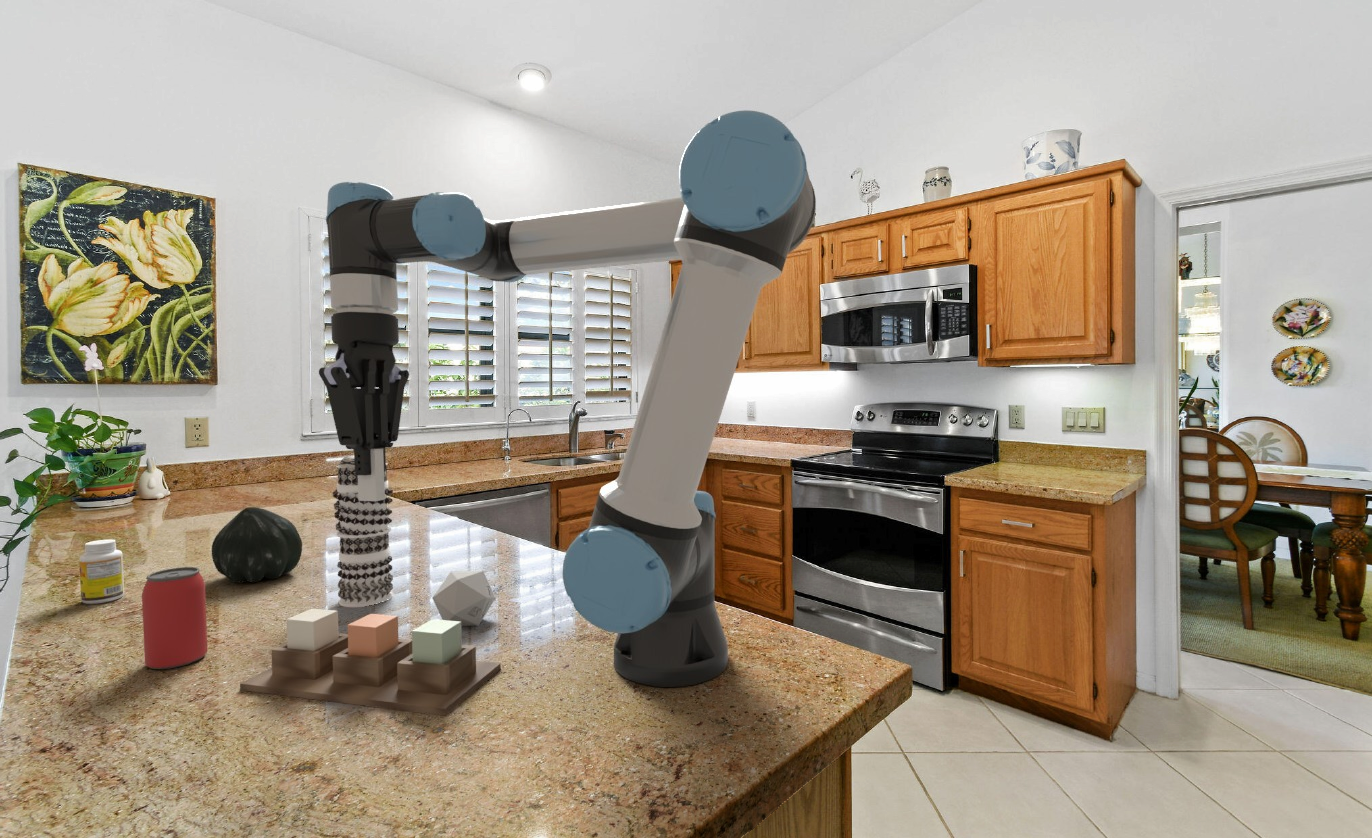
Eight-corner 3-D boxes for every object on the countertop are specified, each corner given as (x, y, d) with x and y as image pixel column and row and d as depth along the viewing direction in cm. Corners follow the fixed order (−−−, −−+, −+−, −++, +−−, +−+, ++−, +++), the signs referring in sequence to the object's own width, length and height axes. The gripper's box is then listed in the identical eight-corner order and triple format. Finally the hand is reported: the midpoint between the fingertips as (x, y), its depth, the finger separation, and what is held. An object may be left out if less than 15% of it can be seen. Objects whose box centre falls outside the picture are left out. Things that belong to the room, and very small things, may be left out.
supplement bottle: (90, 597, 111) (87, 539, 111) (130, 593, 114) (127, 536, 113) (74, 607, 106) (71, 547, 106) (116, 602, 109) (113, 543, 108)
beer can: (138, 675, 80) (134, 582, 80) (153, 656, 86) (149, 569, 86) (202, 664, 83) (198, 575, 83) (212, 647, 89) (209, 563, 89)
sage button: (461, 653, 78) (461, 621, 78) (442, 666, 74) (441, 633, 74) (433, 650, 79) (432, 619, 79) (412, 663, 75) (411, 630, 75)
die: (459, 641, 93) (498, 583, 95) (412, 610, 94) (452, 553, 96) (476, 640, 100) (511, 587, 103) (433, 611, 102) (469, 559, 104)
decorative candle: (366, 610, 104) (361, 459, 103) (323, 605, 107) (318, 457, 106) (407, 593, 112) (403, 454, 111) (366, 588, 115) (362, 452, 114)
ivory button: (338, 640, 82) (337, 610, 82) (314, 653, 79) (313, 621, 78) (313, 638, 83) (312, 608, 83) (287, 650, 79) (286, 619, 79)
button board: (500, 669, 82) (500, 638, 82) (445, 715, 70) (444, 680, 70) (318, 650, 88) (317, 621, 88) (240, 689, 76) (238, 657, 76)
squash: (296, 534, 135) (241, 489, 126) (330, 547, 127) (273, 499, 118) (240, 590, 127) (177, 546, 119) (272, 608, 119) (207, 561, 110)
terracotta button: (398, 646, 80) (397, 615, 80) (376, 659, 77) (375, 627, 76) (371, 644, 81) (370, 613, 81) (348, 656, 77) (347, 624, 77)
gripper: (377, 320, 86) (383, 491, 87) (296, 308, 74) (304, 508, 75) (424, 317, 85) (430, 492, 86) (350, 305, 72) (357, 510, 73)
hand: (371, 499), depth 80 cm, fingers closed
